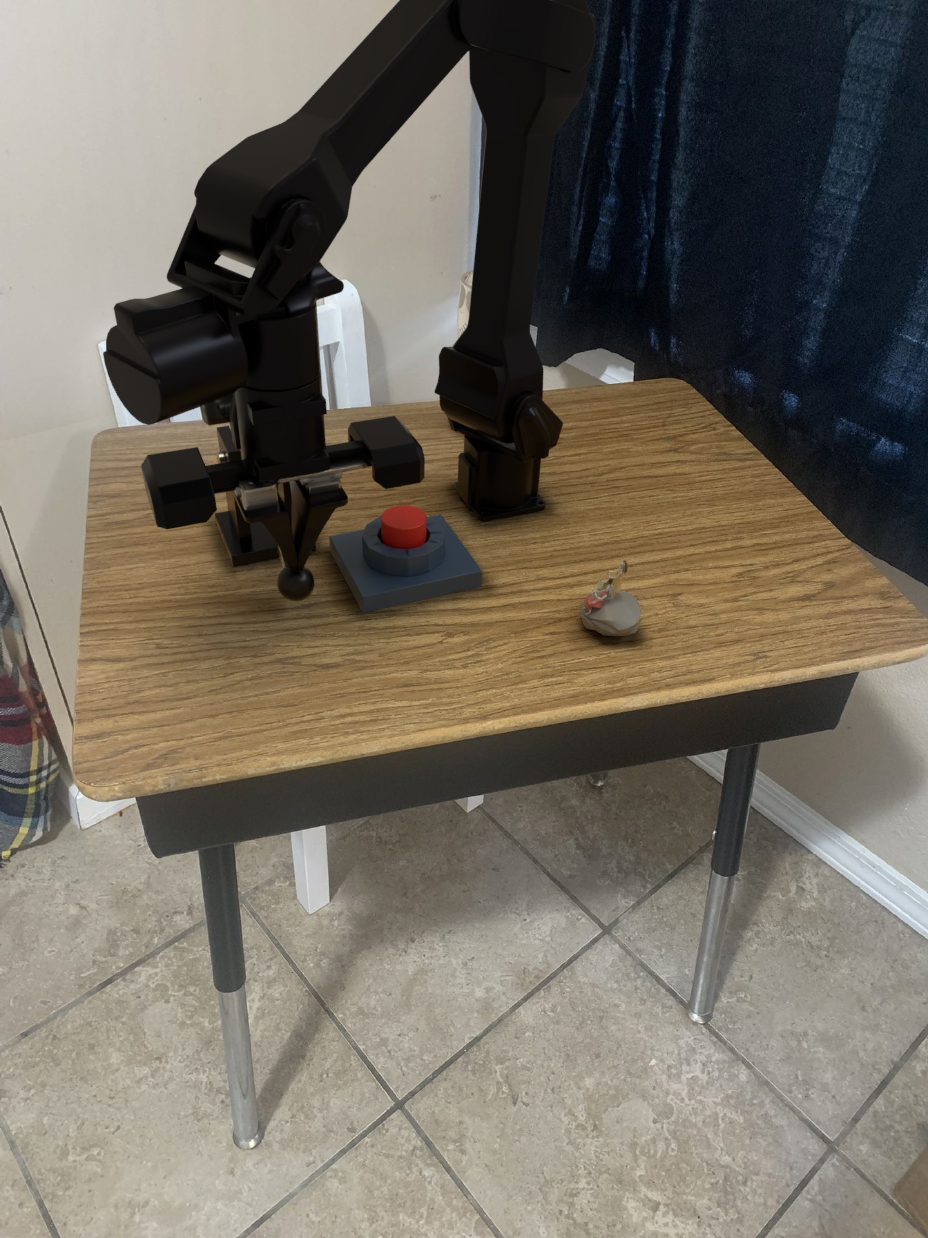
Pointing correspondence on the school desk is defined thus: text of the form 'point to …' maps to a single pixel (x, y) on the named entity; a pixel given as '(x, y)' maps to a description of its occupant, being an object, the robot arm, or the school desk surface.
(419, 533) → the red button
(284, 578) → the lever handle
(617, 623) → the figurine
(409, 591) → the button block
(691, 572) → the school desk surface
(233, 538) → the lever bracket
